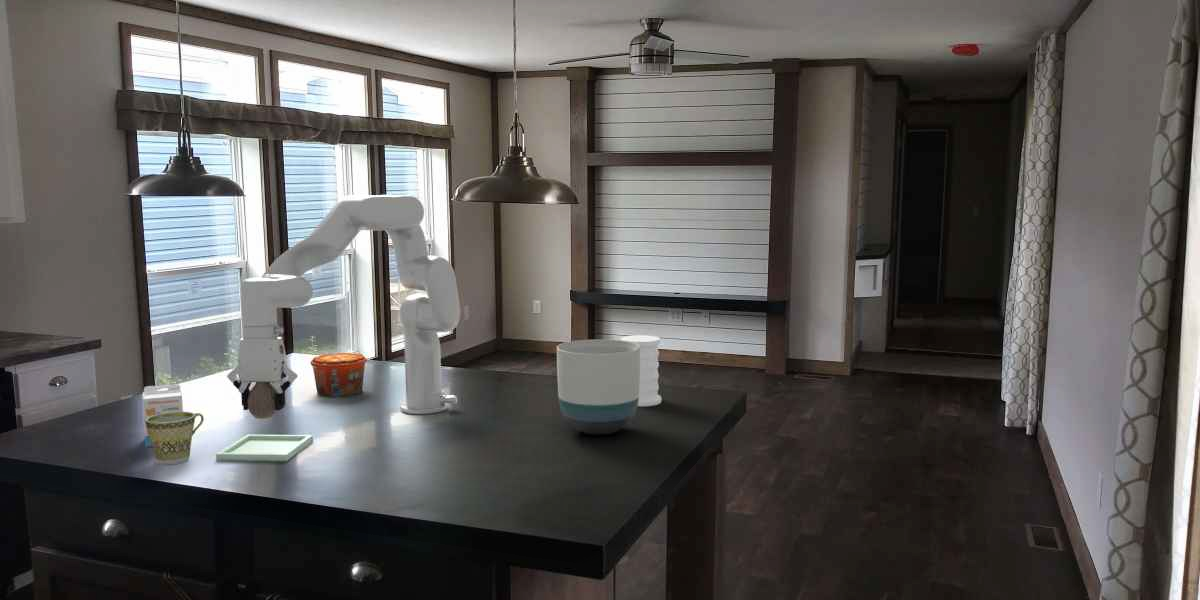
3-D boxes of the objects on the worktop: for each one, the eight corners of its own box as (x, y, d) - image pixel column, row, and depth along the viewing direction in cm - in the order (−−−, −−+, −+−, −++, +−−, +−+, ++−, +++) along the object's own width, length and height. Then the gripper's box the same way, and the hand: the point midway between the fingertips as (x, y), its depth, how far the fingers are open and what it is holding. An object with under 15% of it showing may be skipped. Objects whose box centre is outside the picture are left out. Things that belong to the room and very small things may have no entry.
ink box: (145, 447, 213) (141, 391, 211) (144, 439, 220) (140, 385, 219) (185, 442, 217) (182, 387, 215) (183, 434, 224) (180, 381, 223)
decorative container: (655, 407, 249) (655, 342, 246) (614, 404, 252) (614, 340, 250) (665, 398, 259) (666, 336, 257) (627, 395, 263) (627, 334, 261)
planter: (599, 416, 239) (599, 336, 236) (657, 431, 225) (657, 346, 222) (540, 431, 225) (539, 346, 222) (598, 448, 210) (597, 357, 208)
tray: (313, 441, 218) (312, 435, 217) (286, 461, 202) (286, 454, 202) (247, 440, 219) (247, 434, 218) (216, 460, 203) (215, 454, 202)
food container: (379, 390, 271) (378, 355, 270) (337, 401, 258) (336, 364, 256) (342, 384, 280) (340, 350, 278) (300, 394, 266) (298, 358, 265)
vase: (259, 422, 204) (257, 383, 203) (242, 417, 208) (240, 380, 207) (286, 416, 210) (284, 378, 209) (269, 411, 214) (267, 375, 213)
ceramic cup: (165, 470, 196) (162, 424, 195) (138, 462, 201) (135, 418, 200) (218, 454, 207) (216, 412, 206) (192, 448, 212) (189, 406, 211)
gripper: (303, 330, 210) (307, 405, 212) (230, 329, 211) (234, 404, 213) (291, 335, 202) (294, 413, 205) (215, 334, 203) (219, 412, 206)
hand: (263, 408), depth 209 cm, fingers closed on vase, 6 cm apart
